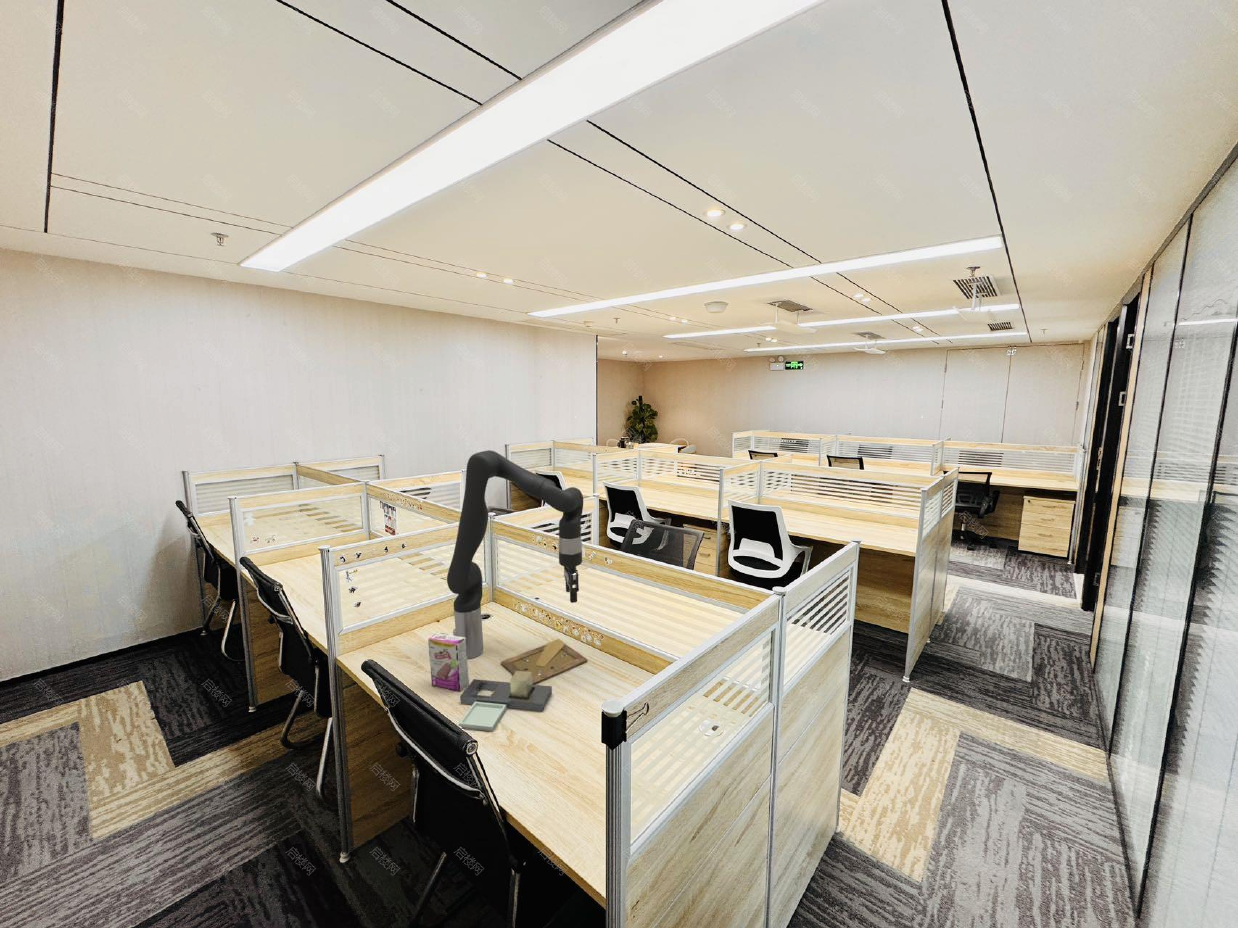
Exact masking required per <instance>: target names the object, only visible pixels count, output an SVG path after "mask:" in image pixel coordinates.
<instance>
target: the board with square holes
mask: <svg viewBox="0 0 1238 928" xmlns="http://www.w3.org/2000/svg"><path fill="white" fill-rule="evenodd" d="M532 686H533V693H532V694H531V696H530V698H529V699H528V700H524V699H514V698H511V687H510V681H500V680H499V681H498V680H486V679H477V678H476V679H475V678H474V679H472V680H471V682H469V684H468V685H467V686H466V687H465V688H464V691H463V692H461V694H460V695H459V698H460V699H459V700H460V701H459V702H460V704H461V705H462V704H463V705H471V706H472V705H473V704H474V702H484V703H494V704H504V705H506V707H507V709H511V710H521V711H528V712H529V711H530V712H540V713H541V712H544V710H545V708H546V706H547V704H548V702H549V701H550V699H551V697H552V695H553V688H552V685H541V684H536V685H532ZM481 690H482V691H492V693H491V695H483V694H482V695H481V694H478V693H479V692H480V691H481Z"/></svg>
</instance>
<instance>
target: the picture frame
mask: <svg viewBox="0 0 1238 928" xmlns="http://www.w3.org/2000/svg"><path fill="white" fill-rule="evenodd" d="M588 661H589V660H588V659H587V658H586V657H585V656H583V655H582V654H581V653H579V652H577V651H576V650H575V649H573V648H572V647H570V646H569V645H568V644H566V642H564V641H563V640H561V639H560V638H558V639H555V640H552V641H549V642H547V643H545V644H543V645H541V646H538V647H535V648H532V649H530V650H528V651H525V652H523V653H520V654H518V655H515V656H512V657H510V658H506V659H503V660H502V661H500V666H502V667H503V668H504V669H505V670H506V671H507V672H508V673H510V674H511V676H513V675H514V674H515V672H516V671H524V672H532V685H539V684H540V683H543V682H545V681H547V680H549V679H551V678H552V679H553V678H554V677H556V676H558V675H562V674H563V673H566V672H567V671H570V670H573V669H574V668H577V667H579V666H582V665H584V664H586V663H588Z"/></svg>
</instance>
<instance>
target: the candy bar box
mask: <svg viewBox="0 0 1238 928" xmlns="http://www.w3.org/2000/svg"><path fill="white" fill-rule="evenodd" d="M427 642H428V653H429V663H430V665H429V666H430V677H431V678H430V679H431V686H432V687H433V686H434V687H438V688H442V689H446V690H447V689H448V690H451V691H456V692H462V691H463V690H464V689H466V688H467V687H468V686H469V684H470V681H469V666H468V659H467V650H466V637H460V636H455V635H453V634H448V633H443V632H436V633H435V634H433V635H432V636H430V637H429V638H428V639H427Z"/></svg>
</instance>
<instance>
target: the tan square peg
mask: <svg viewBox="0 0 1238 928" xmlns="http://www.w3.org/2000/svg"><path fill="white" fill-rule="evenodd" d="M509 682H510V687H511V698H514V699H524V700H528V699H529V698H530V696H531V694H532V693H533V686H532V672H524V671H516V672H515V674H514V675H512V676H511V678H510V679H509Z"/></svg>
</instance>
